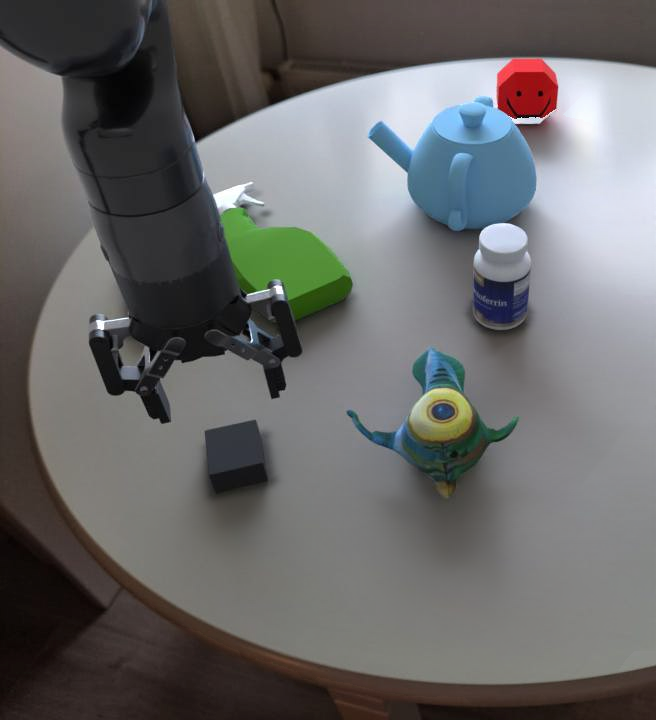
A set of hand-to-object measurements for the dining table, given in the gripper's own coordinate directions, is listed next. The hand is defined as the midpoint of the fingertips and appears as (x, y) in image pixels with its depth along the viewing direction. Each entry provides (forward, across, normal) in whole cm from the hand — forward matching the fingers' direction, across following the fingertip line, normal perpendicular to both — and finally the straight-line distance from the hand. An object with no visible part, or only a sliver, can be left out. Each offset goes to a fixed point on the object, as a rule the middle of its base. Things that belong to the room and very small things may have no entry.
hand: (220, 403), depth 65 cm
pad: (+8, 0, 0) cm, 8 cm away
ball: (+9, -44, -49) cm, 67 cm away
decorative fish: (+8, -17, +2) cm, 19 cm away
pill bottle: (+8, -28, -12) cm, 31 cm away
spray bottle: (+8, -6, -29) cm, 30 cm away
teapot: (+8, -29, -33) cm, 44 cm away
